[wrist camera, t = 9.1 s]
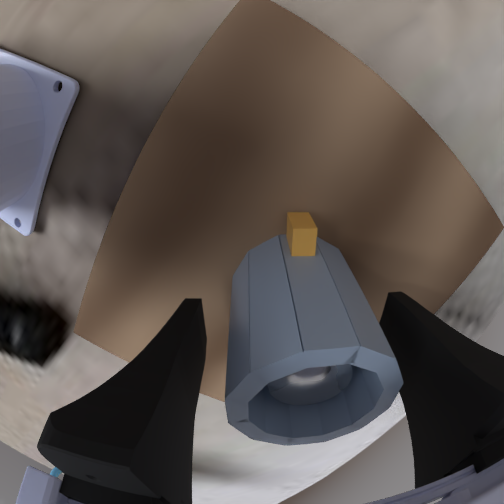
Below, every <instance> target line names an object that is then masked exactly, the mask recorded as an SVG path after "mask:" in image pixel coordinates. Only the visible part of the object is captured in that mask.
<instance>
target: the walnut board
mask: <svg viewBox="0 0 504 504" xmlns="http://www.w3.org/2000/svg"><path fill="white" fill-rule="evenodd" d="M287 212H309V213H310V215H311V217H312V219H313V221H314V223H315V225H316V227H317V237H319V238H320V239H322V240H324V241H326V242H327V243H329V244H331V245H333V246H334V247H336V248H338V249H339V250H340V252H341V253H342V255H343V257H344V259H345V261H346V262H347V264H348V266H349V268H350V270H351V271H352V273H353V275H354V277H355V279H356V281H357V282H358V284H359V286H360V288H361V290H362V292H363V294H364V295H365V297H366V299H367V301H368V303H369V305H370V307H371V309H372V311H373V313H374V315H375V317H376V319H377V321H378V323H379V322H380V319H381V316H382V312H383V309H384V306H385V302H386V299H387V295H388V292H400V291H401V292H403V293H405V294H406V295H408V296H409V297H411V298H412V299H414V300H415V301H416V302H418V303H419V304H420V305H422V306H423V307H424V308H426V309H427V310H428V311H430V312H431V313H432V314H435V312H436V311H437V310H438V309H439V308H440V307H441V306H442V305H443V304H444V303H445V302H446V301H447V299H448V298H449V297H450V296H451V295H452V294H453V293H454V292H455V290H456V289H457V288H458V287H459V286H460V285H461V283H462V282H463V281H464V280H465V279H466V277H467V276H468V275H469V274H470V273H471V271H472V270H473V269H474V268H475V266H476V265H477V264H478V263H479V261H480V260H481V259H482V257H483V256H484V255H485V253H486V252H487V251H488V249H489V248H490V247H491V245H492V244H493V242H494V241H495V240H496V238H497V237H498V235H499V234H500V233H501V231H502V230H503V228H504V226H503V225H502V223H501V221H500V219H499V218H498V216H497V215H496V213H495V211H494V210H493V208H492V207H491V205H490V203H489V202H488V200H487V199H486V197H485V196H484V194H483V193H482V191H481V190H480V188H479V187H478V186H477V184H476V183H475V181H474V180H473V178H472V177H471V176H470V174H469V173H468V172H467V170H466V169H465V168H464V166H463V165H462V164H461V162H460V161H459V160H458V159H457V157H456V156H455V155H454V154H453V152H452V151H451V150H450V149H449V147H448V146H447V145H446V144H445V143H444V141H443V140H442V139H441V138H440V137H439V136H438V134H437V133H436V132H435V131H434V130H433V129H432V128H431V127H430V126H429V124H428V123H427V122H426V121H425V120H424V119H423V118H422V117H421V116H420V115H419V114H418V113H417V112H416V111H415V110H414V109H413V108H412V107H411V106H410V105H409V104H408V103H407V102H406V101H405V100H404V99H403V98H402V97H401V96H400V95H399V94H398V93H397V92H396V91H395V90H394V89H393V88H392V87H391V86H390V85H389V84H387V83H386V82H385V81H384V80H383V79H382V78H381V77H380V76H378V75H377V74H376V73H375V72H374V71H373V70H371V69H370V68H369V67H368V66H367V65H365V64H364V63H363V62H362V61H360V60H359V59H358V58H357V57H355V56H354V55H353V54H352V53H350V52H349V51H348V50H346V49H345V48H344V47H342V46H341V45H340V44H338V43H337V42H336V41H334V40H333V39H331V38H330V37H329V36H327V35H326V34H324V33H323V32H321V31H320V30H318V29H317V28H315V27H314V26H312V25H311V24H309V23H308V22H306V21H305V20H303V19H301V18H300V17H298V16H296V15H295V14H293V13H291V12H290V11H288V10H286V9H285V8H283V7H281V6H279V5H278V4H276V3H274V2H272V1H270V0H240V1H239V2H238V3H237V5H236V6H235V7H234V8H233V10H232V11H231V12H230V13H229V14H228V16H227V17H226V18H225V20H224V21H223V22H222V23H221V25H220V26H219V27H218V29H217V30H216V31H215V33H214V34H213V35H212V37H211V38H210V39H209V41H208V42H207V44H206V45H205V46H204V48H203V49H202V51H201V52H200V53H199V55H198V56H197V58H196V59H195V61H194V62H193V64H192V65H191V67H190V68H189V70H188V71H187V73H186V74H185V76H184V77H183V79H182V81H181V82H180V84H179V85H178V87H177V89H176V90H175V92H174V93H173V95H172V97H171V98H170V100H169V102H168V103H167V105H166V107H165V109H164V110H163V112H162V114H161V115H160V117H159V119H158V121H157V123H156V124H155V126H154V128H153V130H152V132H151V134H150V135H149V137H148V139H147V141H146V143H145V145H144V147H143V149H142V151H141V153H140V155H139V157H138V159H137V161H136V163H135V165H134V167H133V169H132V171H131V173H130V175H129V178H128V180H127V182H126V184H125V186H124V189H123V191H122V193H121V195H120V198H119V200H118V202H117V205H116V207H115V209H114V212H113V214H112V217H111V219H110V221H109V224H108V226H107V229H106V232H105V234H104V237H103V239H102V242H101V245H100V248H99V250H98V253H97V256H96V259H95V262H94V265H93V268H92V271H91V274H90V277H89V280H88V283H87V286H86V289H85V293H84V296H83V299H82V303H81V306H80V310H79V313H78V317H77V321H76V325H75V329H74V333H76V334H77V335H79V336H81V337H82V338H84V339H86V340H88V341H89V342H91V343H93V344H95V345H97V346H99V347H100V348H102V349H104V350H106V351H108V352H110V353H112V354H114V355H116V356H118V357H119V358H121V359H123V360H125V361H127V362H131V361H132V360H133V359H134V358H135V357H136V356H137V355H138V354H139V353H140V352H141V351H142V350H143V349H144V348H145V347H146V346H147V345H148V343H149V342H150V341H151V340H152V339H153V338H154V337H155V336H156V335H157V333H158V332H159V331H160V330H161V329H162V327H163V326H164V325H165V324H166V322H167V321H168V320H169V319H170V317H171V316H172V315H173V313H174V312H175V311H176V309H177V308H178V307H179V305H180V304H181V303H182V301H183V300H184V299H185V298H202V305H203V313H204V320H205V328H206V335H207V347H206V360H205V366H204V371H203V376H202V381H201V386H200V392H199V393H201V394H204V395H207V396H209V397H212V398H215V399H218V400H220V401H223V402H225V385H226V368H227V351H228V336H229V321H230V306H231V292H232V278H233V275H234V273H235V271H236V270H237V268H238V267H239V265H240V263H241V262H242V260H243V259H244V257H245V255H246V254H247V252H248V251H249V250H251V249H252V248H254V247H256V246H258V245H260V244H262V243H264V242H266V241H267V240H269V239H271V238H273V237H275V236H277V235H284V234H286V233H287Z"/></svg>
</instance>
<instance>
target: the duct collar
mask: <svg viewBox="0 0 504 504" xmlns="http://www.w3.org/2000/svg"><path fill="white" fill-rule="evenodd" d="M343 364H351V367H352V371H353V374H352V378H351V381H350V383H349V384H348V385H347V387H346V388H345V389H344V390H343V391H341V392H340V393H339V394H337V395H336V396H334V397H332V398H330V399H328V400H325V401H323V402H319V403H315V404H310V405H291V404H286V403H283V402H280V401H278V400H277V399H275V398H274V397H273V396H272V395H271V394H270V392H269V390H268V383H269V382H272V381H275V380H277V379H280V378H283V377H285V376H288V375H290V374H293V373H295V372H298V371H300V370H303V369H305V368H310V367H323V366H334V365H343ZM402 385H403V379H402V375H401V372H400V369H399V366H398V363H397V360H396V358H395V356H394V353H393V351H392V349H391V347H390V345H389V343H388V341H387V339H386V337H385V335H384V333H383V331H382V329H381V327H380V325H379V323H378V321H377V319H376V317H375V315H374V313H373V311H372V309H371V307H370V305H369V303H368V301H367V299H366V297H365V295H364V294H363V292H362V290H361V288H360V286H359V284H358V282H357V281H356V279H355V277H354V275H353V273H352V271H351V270H350V268H349V266H348V264H347V262H346V261H345V259H344V257H343V255H342V253H341V252H340V250H339V249H338V248H336V247H334V246H333V245H331V244H329V243H327V242H326V241H324V240H322V239H320V238H319V237H317V227H316V225H315V223H314V221H313V219H312V217H311V215H310V213H309V212H287V233H286V234H284V235H277V236H275V237H273V238H271V239H269V240H267V241H266V242H264V243H262V244H260V245H258V246H256V247H254V248H252V249H251V250H249V251H248V252H247V254H246V255H245V257H244V259H243V260H242V262H241V263H240V265H239V267H238V268H237V270H236V271H235V273H234V275H233V278H232V292H231V306H230V321H229V336H228V351H227V368H226V385H225V405H226V412H227V418H228V423H229V424H230V425H232V426H233V427H235V428H236V429H237V430H239V431H240V432H242V433H243V434H245V435H246V436H248V437H249V438H251V439H253V440H258V441H263V442H269V443H274V444H280V445H300V444H310V443H319V442H324V441H325V442H326V441H329V440H332V439H334V438H337V437H340V436H343V435H346V434H348V433H351V432H354V431H356V430H359V429H360V428H363V427H364V426H365V425H367V424H368V423H370V422H371V421H372V420H374V419H375V418H377V417H378V416H379V415H381V414H382V413H383V412H385V411H386V410H387V409H389V407H390V406H391V404H392V403H393V401H394V399H395V397H396V396H397V394H398V392H399V390H400V389H401V387H402Z"/></svg>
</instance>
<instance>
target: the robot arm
mask: <svg viewBox="0 0 504 504" xmlns="http://www.w3.org/2000/svg"><path fill="white" fill-rule="evenodd" d="M60 82H62V85H63V86H62V89H61V91H60V92H59V91H58V85H59V83H60ZM78 93H79V84H78V82H77V81H76V80H75V79H73V78H71V77H68V76H66V75H64V74H62V73H59V72H57V71H55V70H53V69H50V68H48V67H46V66H43V65H41V64H38V63H36V62H34V61H31V60H29V59H26V58H24V57H21V56H19V55H16V54H14V53H11V52H8V51H6V50H3V49H0V218H1V219H2V220H4V221H5V222H6V223H8V224H9V225H10V226H12V227H13V228H14V229H16V230H17V231H19V232H20V233H21V234H23V235H25V236H29V235H30V234H31V233H32V232H33V231H34V229H35V224H36V219H37V215H38V210H39V206H40V202H41V198H42V194H43V190H44V187H45V183H46V179H47V176H48V173H49V169H50V166H51V163H52V160H53V157H54V154H55V151H56V148H57V145H58V142H59V139H60V137H61V134H62V131H63V129H64V126H65V124H66V121H67V119H68V116H69V114H70V111H71V109H72V107H73V104H74V102H75V100H76V98H77V95H78ZM19 220H20V222H21V223H20V222H19ZM379 325H380V327H381V329H382V331H383V333H384V335H385V337H386V339H387V341H388V343H389V345H390V347H391V349H392V351H393V353H394V356H395V358H396V360H397V363H398V366H399V369H400V372H401V375H402V379H403V385H402V387H401V389H400V390H399V392H400V395H401V398H402V401H403V404H404V408H405V412H406V416H407V420H408V424H409V429H410V434H411V440H412V447H413V455H414V468H415V489H414V490H411V491H408V492H405V493H401V494H398V495H395V496H392V497H388V498H385V499H381V500H377V501H373V502H370V503H366V504H427V503H430V502H432V501H435V500H437V499H439V498H442V497H443V498H442V500H441V501H439V502H437V503H435V504H504V356H502V355H500V354H498V353H496V352H493V351H491V350H489V349H487V348H485V347H483V346H481V345H479V344H477V343H476V342H474V341H472V340H471V339H469V338H467V337H466V336H464V335H462V334H461V333H459V332H458V331H456V330H455V329H453V328H452V327H450V326H449V325H447V324H446V323H445V322H443V321H442V320H441V319H439V318H438V317H436V316H435V315H434V314H432V313H431V312H430V311H428V310H427V309H426V308H424V307H423V306H422V305H420V304H419V303H418V302H416V301H415V300H414V299H412V298H411V297H409V296H408V295H406V294H405V293H403V292H401V291H400V292H388V295H387V299H386V302H385V306H384V309H383V312H382V316H381V319H380V322H379ZM206 347H207V335H206V328H205V320H204V313H203V305H202V298H185V299H184V300H183V301H182V303H181V304H180V305H179V307H178V308H177V309H176V311H175V312H174V313H173V315H172V316H171V317H170V319H169V320H168V321H167V322H166V324H165V325H164V326H163V327H162V329H161V330H160V331H159V332H158V333H157V335H156V336H155V337H154V338H153V339H152V340H151V341H150V342H149V343H148V345H147V346H146V347H145V348H144V349H143V350H142V351H141V352H140V353H139V354H138V355H137V356H136V357H135V358H134V359H133V360H132V361H131V362H130V363H128V364H127V365H126V366H125V367H124V368H123V369H122V370H120V371H119V372H118V373H117V374H115V375H114V376H113V377H111V378H110V379H109V380H107V381H106V382H105V383H103V384H102V385H101V386H99V387H98V388H96V389H95V390H93V391H91V392H90V393H88V394H86V395H85V396H83V397H81V398H80V399H78V400H76V401H74V402H72V403H70V404H68V405H66V406H64V407H62V408H60V409H58V410H56V411H53V412H51V413H50V415H49V417H48V420H47V422H46V424H45V427H44V429H43V432H42V434H41V437H40V439H39V442H38V444H37V448H38V450H39V452H40V453H41V454H42V455H43V456H44V457H45V458H46V459H47V460H48V461H49V462H50V463H52V464H53V465H54V466H55V467H57V468H58V469H59V470H60V471H62V472H63V473H64V477H63V481H62V480H60V479H59V478H57V477H55V476H52V475H50V474H48V473H45V472H43V471H41V470H38V469H36V468H34V467H32V466H27V469H26V472H25V475H24V478H23V481H22V484H21V487H20V490H19V494H18V497H17V500H16V504H192V453H193V435H194V420H195V413H196V407H197V402H198V397H199V392H200V386H201V381H202V376H203V371H204V366H205V360H206Z"/></svg>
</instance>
